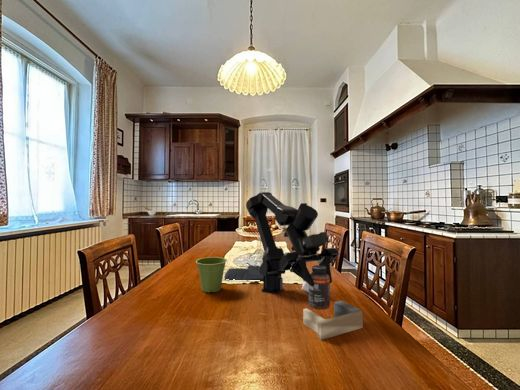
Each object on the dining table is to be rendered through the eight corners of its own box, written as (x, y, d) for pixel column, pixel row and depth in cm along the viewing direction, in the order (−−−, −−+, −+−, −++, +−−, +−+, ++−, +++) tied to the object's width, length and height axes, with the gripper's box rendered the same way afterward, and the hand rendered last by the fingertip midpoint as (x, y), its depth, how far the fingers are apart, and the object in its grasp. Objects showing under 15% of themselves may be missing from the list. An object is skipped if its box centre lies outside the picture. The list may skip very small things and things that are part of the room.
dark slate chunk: (228, 272, 130) (228, 262, 130) (274, 272, 128) (274, 262, 128) (222, 282, 114) (222, 271, 114) (274, 283, 113) (274, 271, 113)
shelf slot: (299, 324, 74) (299, 308, 74) (339, 314, 81) (339, 299, 81) (320, 340, 66) (320, 321, 66) (363, 327, 72) (363, 310, 72)
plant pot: (189, 293, 99) (189, 263, 99) (204, 284, 111) (204, 256, 111) (220, 296, 96) (220, 264, 96) (231, 286, 108) (231, 257, 108)
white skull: (326, 299, 96) (310, 285, 105) (325, 283, 95) (309, 269, 103) (314, 304, 95) (299, 289, 104) (313, 287, 93) (298, 273, 102)
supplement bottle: (326, 302, 80) (326, 264, 81) (332, 310, 75) (333, 269, 75) (306, 302, 80) (307, 264, 81) (310, 310, 74) (311, 269, 75)
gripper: (283, 224, 77) (307, 273, 67) (334, 222, 85) (362, 264, 75) (270, 248, 84) (290, 294, 74) (318, 243, 92) (342, 285, 82)
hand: (322, 284), depth 76 cm, fingers closed on supplement bottle, 6 cm apart
